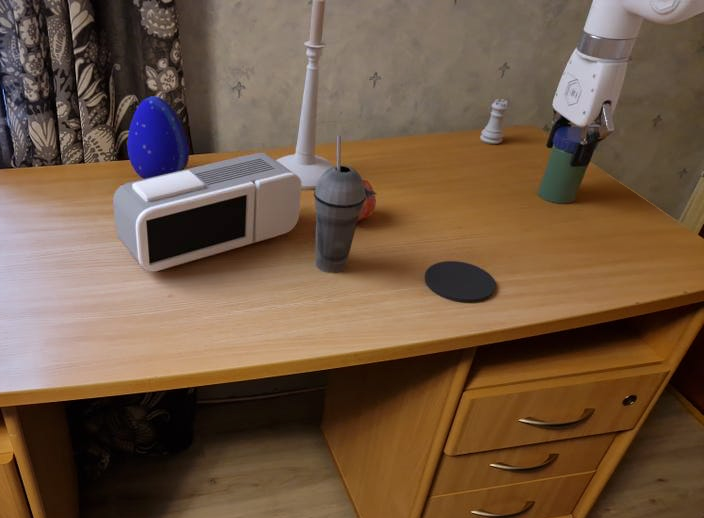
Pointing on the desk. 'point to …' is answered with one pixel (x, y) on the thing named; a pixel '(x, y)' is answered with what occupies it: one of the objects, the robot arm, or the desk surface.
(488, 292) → the coaster
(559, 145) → the lid
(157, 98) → the ornament
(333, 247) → the beverage cup
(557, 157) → the jar
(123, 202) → the alarm clock
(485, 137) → the rook chess piece
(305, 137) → the candlestick
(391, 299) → the desk surface
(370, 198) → the pomegranate
